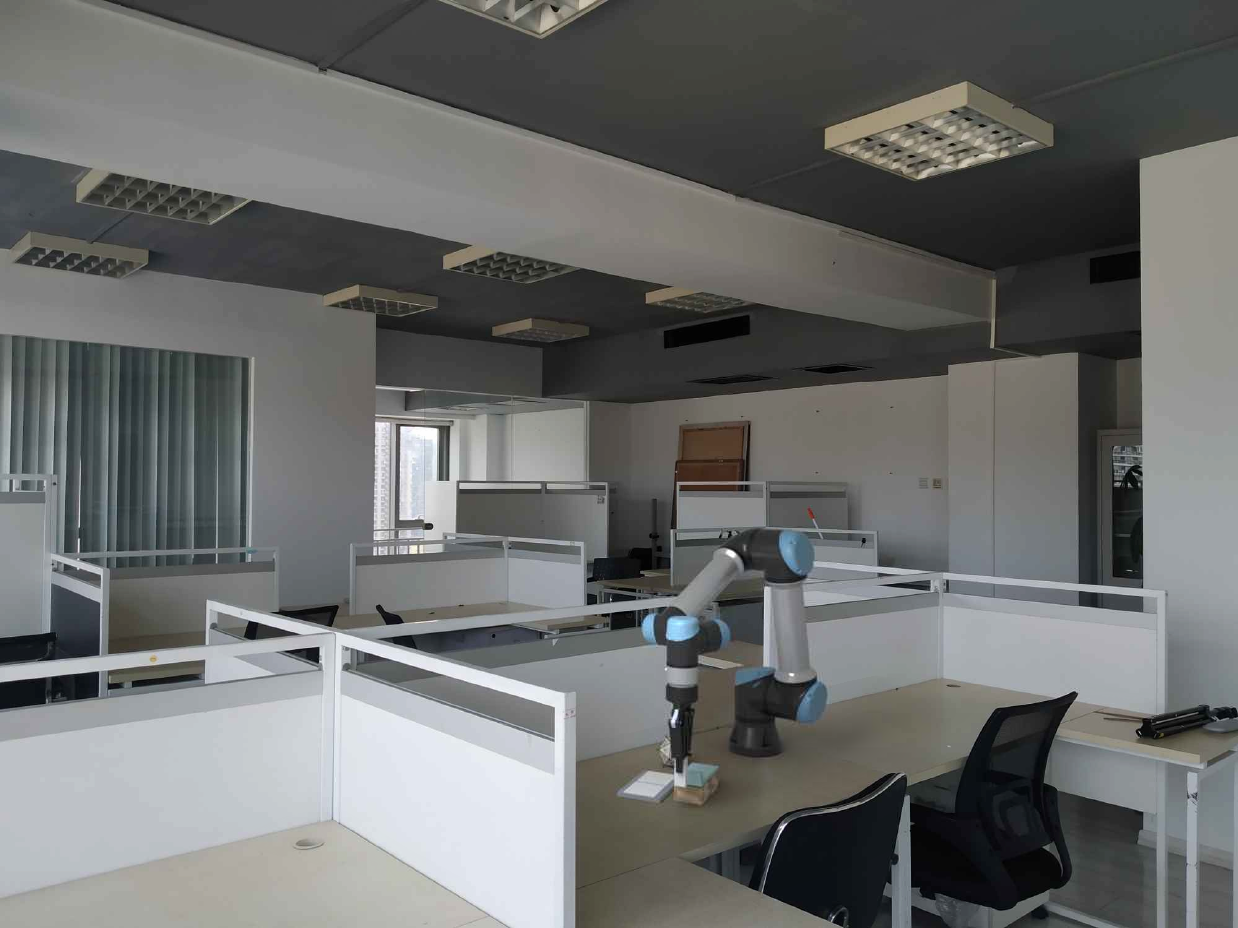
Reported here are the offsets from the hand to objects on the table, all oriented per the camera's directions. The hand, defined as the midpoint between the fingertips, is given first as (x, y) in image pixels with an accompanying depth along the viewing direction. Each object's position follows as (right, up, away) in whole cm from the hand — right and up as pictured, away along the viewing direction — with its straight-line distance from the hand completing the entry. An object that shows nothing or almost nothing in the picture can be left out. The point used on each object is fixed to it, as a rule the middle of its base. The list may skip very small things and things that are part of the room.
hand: (680, 785), depth 209 cm
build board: (-6, -6, +15) cm, 17 cm away
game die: (0, -7, +32) cm, 32 cm away
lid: (+5, -2, +11) cm, 12 cm away
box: (+5, -6, +11) cm, 14 cm away
